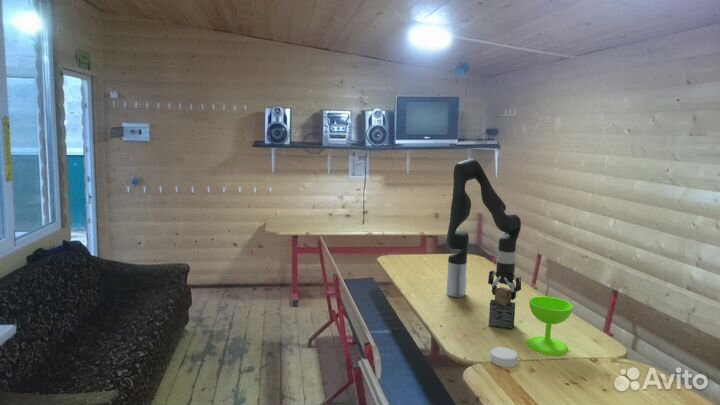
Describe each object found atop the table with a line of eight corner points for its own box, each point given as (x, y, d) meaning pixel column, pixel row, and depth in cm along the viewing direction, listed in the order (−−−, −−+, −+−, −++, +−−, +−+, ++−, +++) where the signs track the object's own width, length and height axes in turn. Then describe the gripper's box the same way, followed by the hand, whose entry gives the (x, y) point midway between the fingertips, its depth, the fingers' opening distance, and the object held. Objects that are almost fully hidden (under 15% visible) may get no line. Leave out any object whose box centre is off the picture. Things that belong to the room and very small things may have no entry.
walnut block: (500, 299, 218) (501, 286, 217) (510, 302, 215) (511, 289, 214) (494, 302, 215) (495, 289, 214) (505, 305, 211) (506, 292, 210)
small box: (514, 324, 218) (515, 301, 216) (513, 330, 212) (515, 306, 210) (489, 320, 221) (491, 298, 219) (488, 326, 215) (489, 303, 213)
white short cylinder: (490, 353, 190) (490, 344, 189) (517, 357, 187) (518, 348, 186) (489, 365, 180) (489, 356, 180) (517, 369, 177) (518, 360, 177)
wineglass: (546, 358, 186) (550, 313, 183) (517, 341, 200) (520, 298, 198) (577, 352, 192) (582, 307, 190) (547, 335, 207) (551, 294, 204)
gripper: (525, 262, 210) (522, 299, 212) (495, 255, 219) (492, 291, 222) (517, 265, 204) (514, 303, 207) (486, 258, 214) (484, 294, 217)
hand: (503, 297), depth 214 cm, fingers open, 8 cm apart
